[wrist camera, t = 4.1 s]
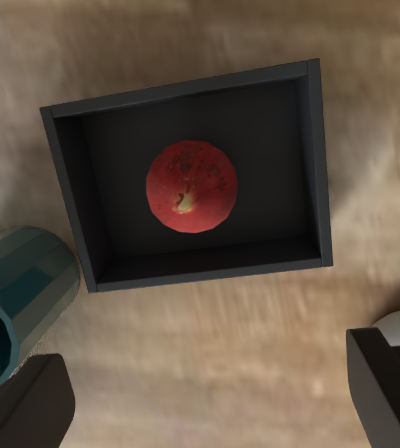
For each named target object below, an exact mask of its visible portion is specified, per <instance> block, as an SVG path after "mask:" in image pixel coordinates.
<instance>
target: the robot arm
mask: <svg viewBox="0 0 400 448" xmlns="http://www.w3.org/2000/svg"><path fill="white" fill-rule="evenodd" d="M346 348H347V368H348V383H349V389H350V393H351V397H352V401H353V403H354V406H355V408H356V411H357V413H358V416H359V418H360V420H361V423H362V425H363V428H364V430H365V433H366V435H367V437H368V440H369V442H370V445H371V447H372V448H400V345H399V346H390V344H389V343H388V341H387V340H386V338H385V337H384V335H383V334H382V332H381V331H380V330H379V328H378V327H370V328H359V329H348V330H347V331H346ZM74 413H75V396H74V393H73V389H72V386H71V383H70V379H69V376H68V373H67V369H66V366H65V362H64V359H63V357H62V356H61V355H60V354H58V353H56V354H44V355H33V356H31V357H30V358H29V359H28V360H27V361H26V362H25V364H24V365H23V366H22V367H21V369H20V370H19V371H18V372H17V373H16V375H13V376H12V377H10V378H9V379H8V380H6V381H5V382H4V383H2V384H1V385H0V448H59V446H60V444H61V442H62V440H63V438H64V436H65V434H66V432H67V430H68V428H69V426H70V424H71V422H72V420H73V417H74Z"/></svg>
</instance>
